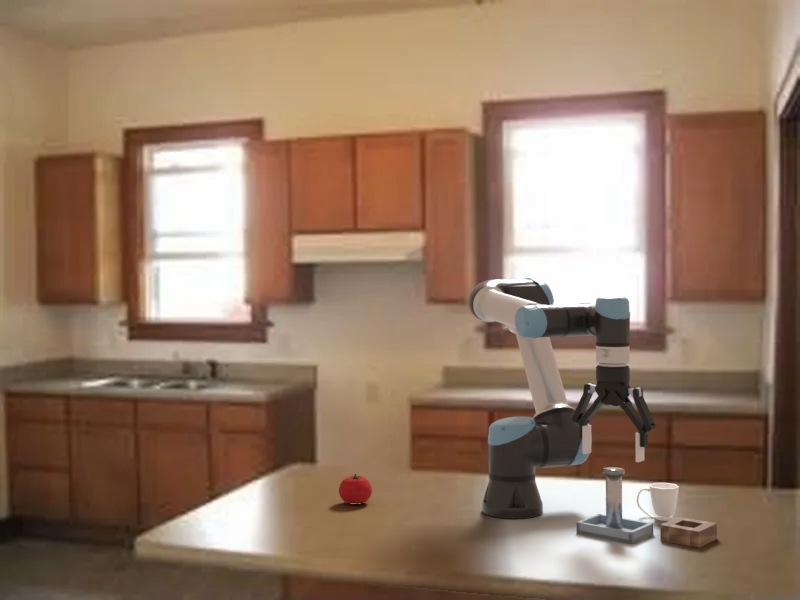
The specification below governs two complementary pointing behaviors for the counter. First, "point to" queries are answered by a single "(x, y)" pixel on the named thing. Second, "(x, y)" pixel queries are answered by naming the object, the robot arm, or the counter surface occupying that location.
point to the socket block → (688, 532)
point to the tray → (628, 534)
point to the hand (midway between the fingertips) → (612, 457)
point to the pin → (614, 496)
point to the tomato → (355, 489)
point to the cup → (662, 500)
